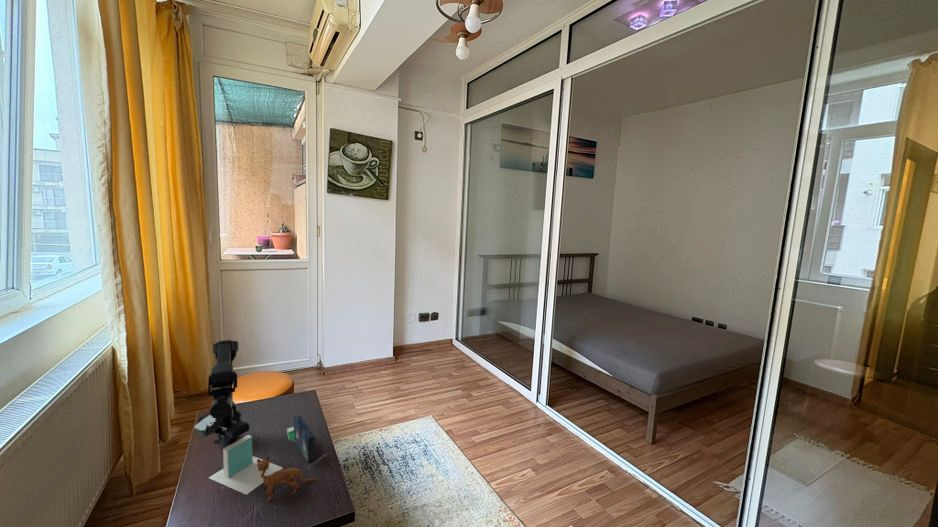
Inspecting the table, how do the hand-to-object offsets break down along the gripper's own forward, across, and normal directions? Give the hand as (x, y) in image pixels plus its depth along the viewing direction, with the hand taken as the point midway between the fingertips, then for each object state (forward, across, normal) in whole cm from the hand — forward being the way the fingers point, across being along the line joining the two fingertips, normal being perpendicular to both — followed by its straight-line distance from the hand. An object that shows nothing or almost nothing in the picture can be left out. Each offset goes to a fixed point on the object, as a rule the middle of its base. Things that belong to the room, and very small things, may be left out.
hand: (224, 446), depth 128 cm
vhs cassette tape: (+7, +18, +18) cm, 27 cm away
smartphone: (+8, +9, +24) cm, 27 cm away
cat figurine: (+7, +30, +1) cm, 30 cm away
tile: (+6, +7, 0) cm, 9 cm away
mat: (+7, +11, 0) cm, 13 cm away
